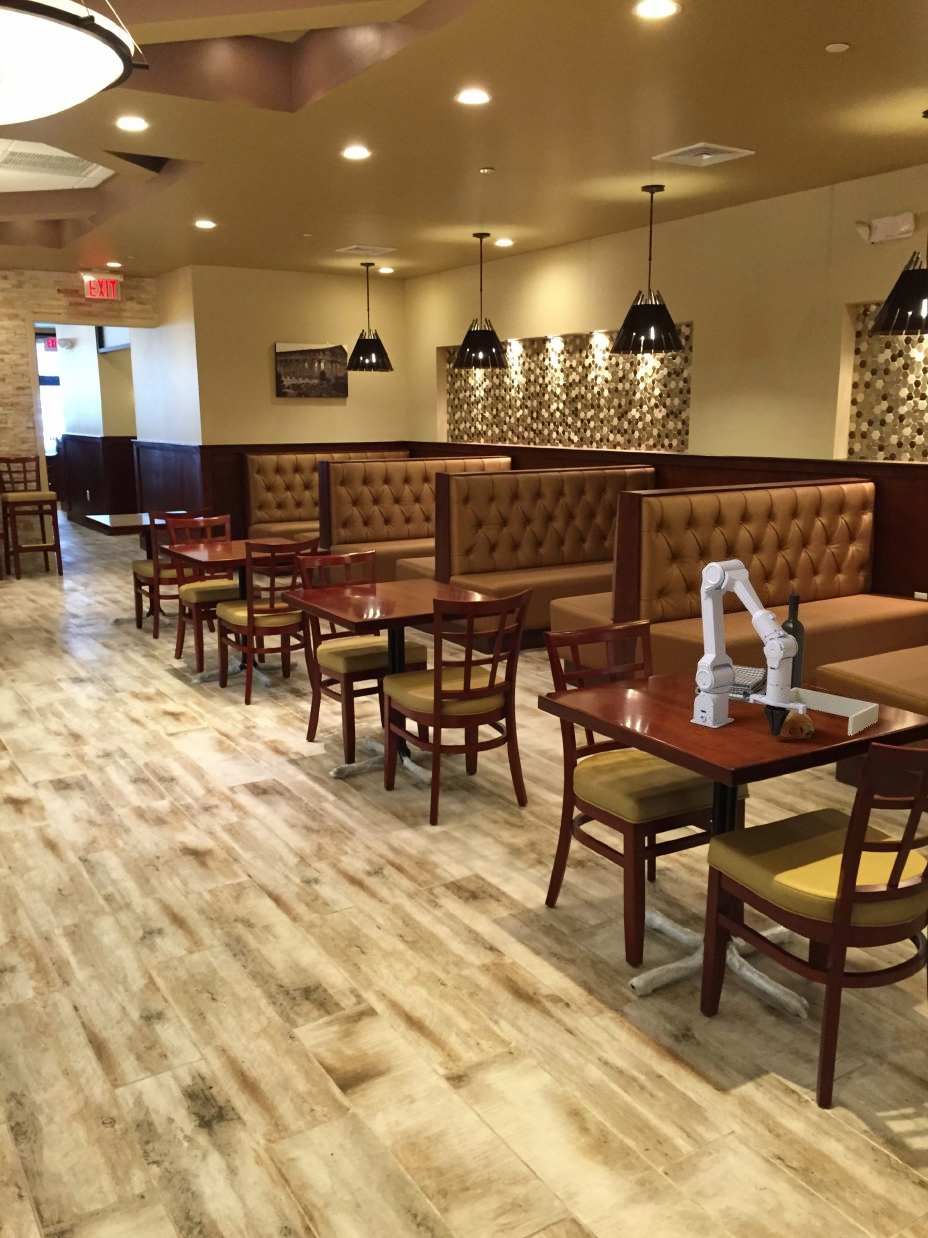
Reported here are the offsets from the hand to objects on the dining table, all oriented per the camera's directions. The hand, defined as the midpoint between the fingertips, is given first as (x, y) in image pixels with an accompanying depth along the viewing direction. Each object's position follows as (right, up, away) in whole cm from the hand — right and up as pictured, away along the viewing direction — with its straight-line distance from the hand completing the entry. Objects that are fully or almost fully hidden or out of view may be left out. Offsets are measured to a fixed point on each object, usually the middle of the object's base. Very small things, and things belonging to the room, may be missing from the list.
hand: (775, 734), depth 252 cm
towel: (0, +7, +43) cm, 43 cm away
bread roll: (+7, -1, +7) cm, 10 cm away
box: (+18, +2, +18) cm, 26 cm away
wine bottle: (+17, +7, +42) cm, 45 cm away
